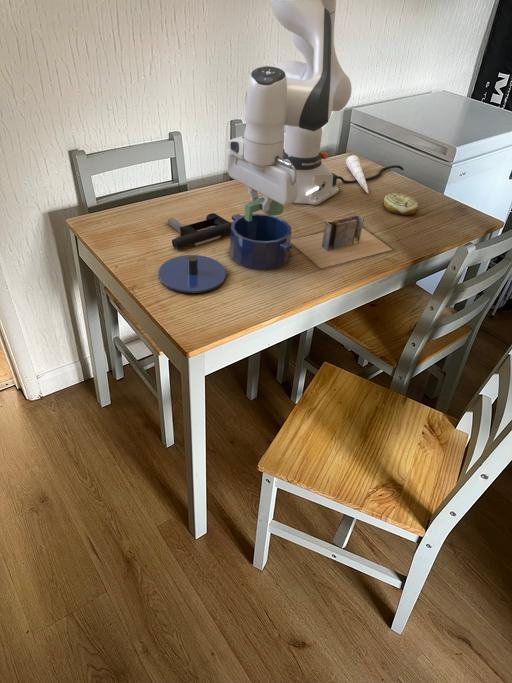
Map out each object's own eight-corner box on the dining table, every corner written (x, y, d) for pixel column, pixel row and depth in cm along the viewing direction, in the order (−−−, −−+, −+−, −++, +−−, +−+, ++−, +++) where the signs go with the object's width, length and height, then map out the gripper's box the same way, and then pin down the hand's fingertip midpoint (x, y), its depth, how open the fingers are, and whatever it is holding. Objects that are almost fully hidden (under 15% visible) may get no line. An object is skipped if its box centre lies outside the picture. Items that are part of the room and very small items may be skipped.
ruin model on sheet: (321, 268, 143) (326, 235, 136) (288, 240, 153) (292, 208, 147) (392, 249, 153) (400, 218, 147) (357, 224, 164) (363, 194, 157)
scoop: (272, 204, 134) (274, 189, 131) (287, 211, 131) (288, 196, 129) (239, 216, 128) (240, 201, 125) (253, 224, 125) (254, 209, 123)
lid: (198, 252, 145) (198, 235, 142) (239, 279, 136) (240, 262, 132) (145, 272, 136) (144, 254, 132) (185, 303, 127) (185, 285, 123)
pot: (254, 230, 156) (256, 205, 151) (307, 261, 145) (311, 235, 140) (212, 246, 148) (212, 220, 142) (264, 281, 136) (266, 253, 131)
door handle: (149, 221, 151) (178, 242, 141) (208, 205, 161) (240, 224, 151) (150, 232, 153) (179, 254, 143) (208, 216, 163) (239, 235, 153)
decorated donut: (405, 220, 168) (408, 209, 165) (376, 208, 173) (378, 197, 171) (421, 210, 174) (424, 199, 172) (393, 199, 179) (395, 188, 177)
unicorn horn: (356, 194, 180) (359, 180, 177) (344, 166, 199) (346, 154, 196) (370, 195, 181) (373, 181, 178) (357, 167, 199) (359, 154, 196)
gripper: (307, 162, 114) (300, 220, 124) (243, 133, 125) (241, 189, 134) (286, 169, 111) (280, 228, 120) (223, 139, 122) (222, 195, 131)
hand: (259, 207), depth 127 cm, fingers closed on scoop, 2 cm apart
